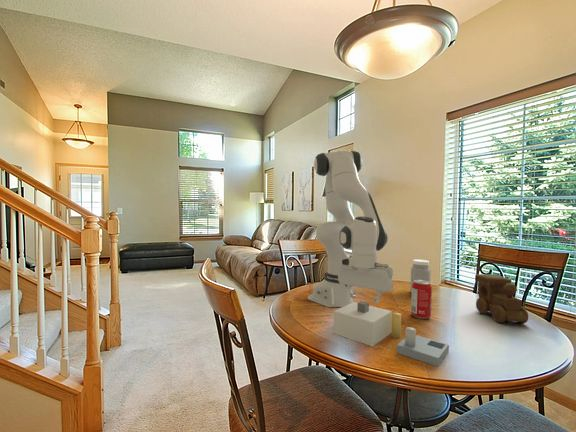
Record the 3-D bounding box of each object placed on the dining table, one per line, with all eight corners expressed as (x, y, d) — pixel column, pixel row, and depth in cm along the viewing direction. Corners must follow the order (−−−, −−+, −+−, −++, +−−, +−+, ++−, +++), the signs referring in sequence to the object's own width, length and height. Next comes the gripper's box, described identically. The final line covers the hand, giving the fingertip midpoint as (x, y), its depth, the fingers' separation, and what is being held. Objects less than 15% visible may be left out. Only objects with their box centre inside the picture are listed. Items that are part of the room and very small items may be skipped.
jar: (433, 296, 157) (434, 262, 157) (414, 295, 157) (415, 261, 157) (424, 291, 167) (426, 259, 167) (407, 290, 167) (408, 258, 167)
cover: (333, 332, 108) (334, 302, 107) (354, 321, 119) (354, 294, 119) (372, 346, 98) (373, 313, 97) (391, 332, 109) (392, 303, 109)
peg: (390, 336, 106) (390, 313, 106) (393, 333, 108) (394, 311, 108) (398, 338, 104) (399, 316, 104) (401, 336, 106) (402, 314, 106)
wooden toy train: (471, 309, 137) (473, 273, 137) (496, 310, 138) (497, 274, 137) (503, 326, 118) (505, 285, 117) (531, 327, 118) (533, 285, 117)
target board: (396, 352, 94) (397, 329, 94) (410, 340, 103) (411, 319, 103) (437, 366, 86) (438, 341, 86) (448, 352, 95) (449, 328, 95)
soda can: (407, 316, 126) (409, 281, 126) (414, 312, 132) (415, 278, 132) (427, 321, 121) (428, 285, 121) (433, 316, 127) (434, 281, 126)
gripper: (396, 264, 103) (395, 303, 103) (344, 257, 117) (344, 293, 117) (388, 266, 98) (388, 308, 98) (335, 259, 112) (335, 296, 112)
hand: (363, 299), depth 108 cm, fingers open, 8 cm apart
